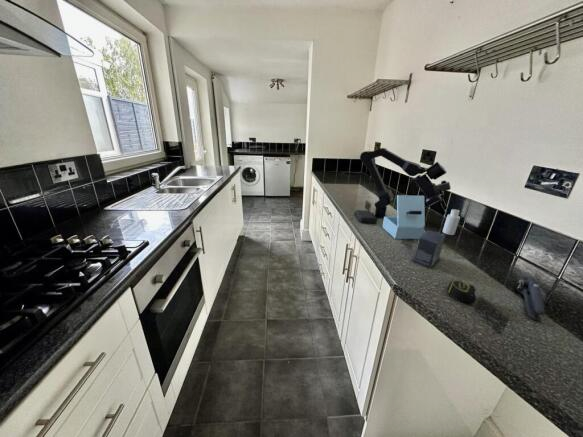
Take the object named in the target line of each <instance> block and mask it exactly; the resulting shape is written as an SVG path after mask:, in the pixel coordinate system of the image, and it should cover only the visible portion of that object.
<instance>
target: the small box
mask: <svg viewBox="0 0 583 437" xmlns="http://www.w3.org/2000/svg"><path fill="white" fill-rule="evenodd" d="M445 239H446V234H445V233H442V232H438V231H434V230H429V229H427V231H426V232H425V233H422V236H421V237H420V238H419V239H418V243H417V246H416V251H415V254H414V258H413V262H414V263H417V264H419V265H421V266H424V267H426V268H430V269H431V268H433V266H434V265H435V264H436V263H437V261H438V260H439V259H440V255H441V252H442V248H443V246H444V242H445Z"/></svg>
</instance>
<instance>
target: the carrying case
mask: <svg viewBox="0 0 583 437" xmlns="http://www.w3.org/2000/svg"><path fill="white" fill-rule="evenodd" d="M353 213H354V215H355V217H356V218H357V219H358V221H359V222H360V223H363V224H376V223H377V222H378V218H376V217H375V216H374V214H373V212H372V211H370V210H364V209H362V210H361V209H356V210H355V211H354V212H353Z"/></svg>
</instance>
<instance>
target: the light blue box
mask: <svg viewBox="0 0 583 437" xmlns="http://www.w3.org/2000/svg"><path fill="white" fill-rule="evenodd" d="M382 228H383V229H384V230H385V231H386V232H387V233H388V234H389V235H390V236H392V237H393V239H395V240H419V238H420V237H421V236H422V235H423V234H424V228H425V227H407V226H397V216H386V217H384V218H383V222H382Z"/></svg>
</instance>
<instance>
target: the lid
mask: <svg viewBox="0 0 583 437" xmlns="http://www.w3.org/2000/svg"><path fill="white" fill-rule="evenodd" d="M396 204H397V205H396V215H397V216H396V217H397V226H407V227H424V228H425V227H426V220H425V219H426V217H425V216H426V215H425V212H426V211H425V195H407V194H406V195H405V194H402V195H400V194H397V195H396Z"/></svg>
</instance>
